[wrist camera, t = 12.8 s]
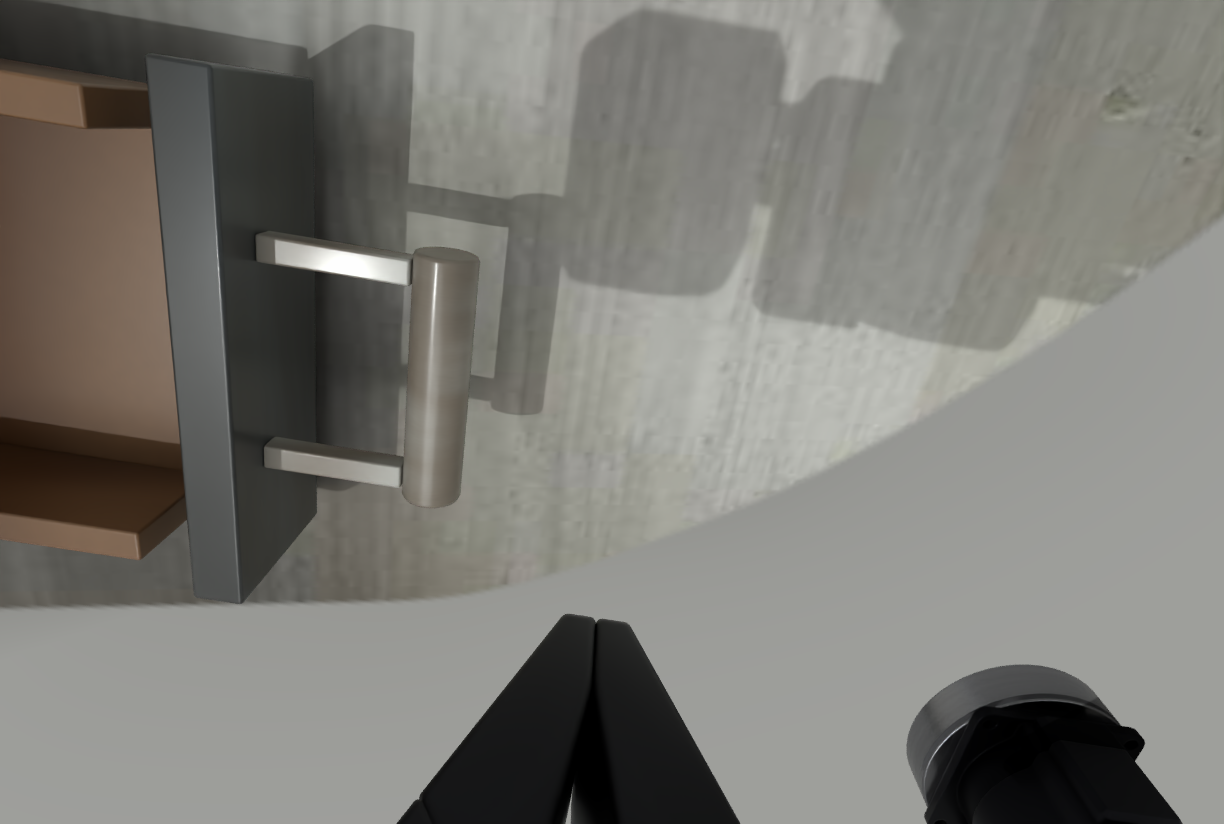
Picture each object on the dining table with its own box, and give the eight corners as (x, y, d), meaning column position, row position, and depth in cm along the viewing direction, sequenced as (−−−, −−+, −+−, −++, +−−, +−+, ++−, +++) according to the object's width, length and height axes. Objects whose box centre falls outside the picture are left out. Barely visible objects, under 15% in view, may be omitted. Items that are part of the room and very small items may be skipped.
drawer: (514, 113, 16) (475, 109, 12) (473, 537, 21) (435, 634, 17) (-234, -16, 16) (-529, -64, 12) (-109, 449, 20) (-290, 527, 16)
